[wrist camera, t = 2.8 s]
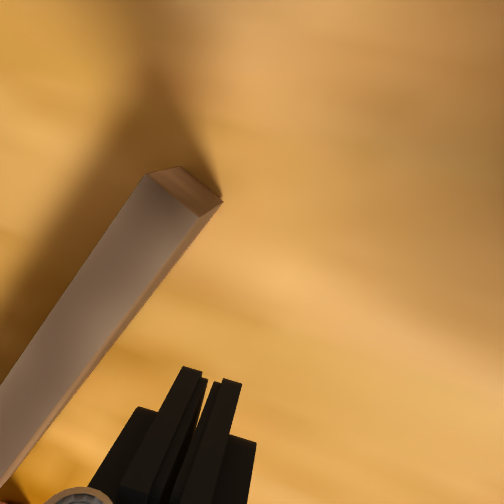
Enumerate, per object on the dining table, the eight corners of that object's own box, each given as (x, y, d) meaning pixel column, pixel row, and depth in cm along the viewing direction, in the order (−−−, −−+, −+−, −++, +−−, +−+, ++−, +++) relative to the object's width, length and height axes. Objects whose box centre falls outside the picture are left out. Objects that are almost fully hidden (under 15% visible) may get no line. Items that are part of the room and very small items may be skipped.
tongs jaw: (223, 201, 19) (198, 217, 15) (10, 476, 26) (-44, 535, 22) (180, 166, 19) (145, 173, 15) (-23, 451, 26) (-83, 506, 22)
